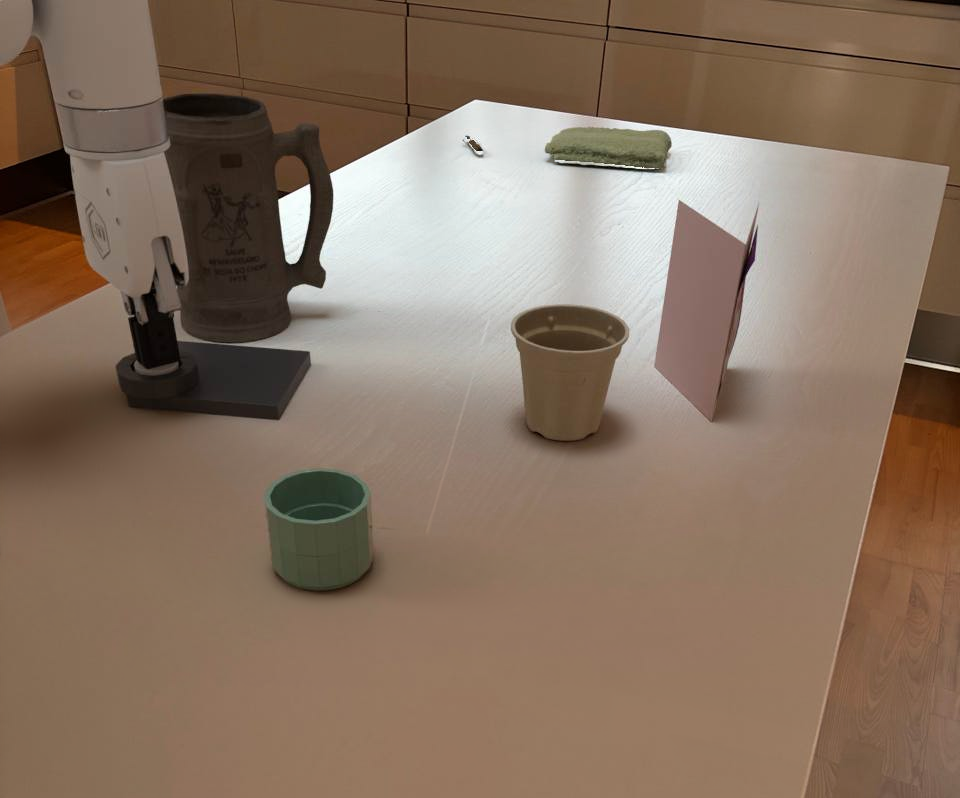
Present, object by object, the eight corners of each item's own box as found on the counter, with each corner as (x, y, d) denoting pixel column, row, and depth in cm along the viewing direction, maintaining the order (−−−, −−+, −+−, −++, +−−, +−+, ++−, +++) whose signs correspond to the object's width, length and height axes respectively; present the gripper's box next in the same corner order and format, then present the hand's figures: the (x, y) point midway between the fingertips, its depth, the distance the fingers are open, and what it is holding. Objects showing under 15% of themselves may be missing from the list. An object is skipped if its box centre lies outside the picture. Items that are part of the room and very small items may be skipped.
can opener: (483, 156, 150) (483, 147, 149) (467, 156, 150) (468, 148, 149) (475, 140, 157) (475, 132, 156) (460, 140, 157) (460, 132, 156)
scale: (111, 411, 86) (103, 377, 84) (161, 353, 95) (155, 322, 93) (276, 425, 85) (272, 391, 83) (311, 365, 94) (308, 334, 92)
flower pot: (536, 461, 82) (544, 359, 76) (487, 409, 88) (491, 312, 83) (637, 440, 85) (652, 341, 80) (583, 392, 92) (593, 297, 86)
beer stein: (182, 350, 96) (161, 115, 83) (165, 307, 103) (144, 86, 91) (342, 341, 101) (345, 119, 89) (315, 301, 108) (314, 91, 96)
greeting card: (721, 423, 88) (757, 246, 78) (636, 409, 89) (661, 233, 80) (736, 369, 96) (769, 203, 87) (657, 357, 98) (682, 192, 88)
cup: (260, 588, 68) (251, 518, 64) (287, 532, 73) (280, 464, 70) (361, 598, 67) (357, 527, 64) (381, 540, 73) (379, 472, 69)
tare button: (130, 385, 86) (127, 370, 85) (146, 366, 89) (143, 352, 88) (171, 388, 86) (169, 373, 85) (186, 370, 89) (184, 355, 88)
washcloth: (556, 141, 158) (558, 119, 156) (671, 152, 156) (674, 129, 153) (542, 164, 148) (543, 140, 146) (664, 175, 146) (667, 151, 144)
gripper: (26, 111, 77) (81, 343, 89) (105, 157, 69) (155, 407, 80) (121, 99, 81) (162, 323, 93) (208, 141, 72) (241, 383, 84)
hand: (159, 361), depth 87 cm, fingers closed
